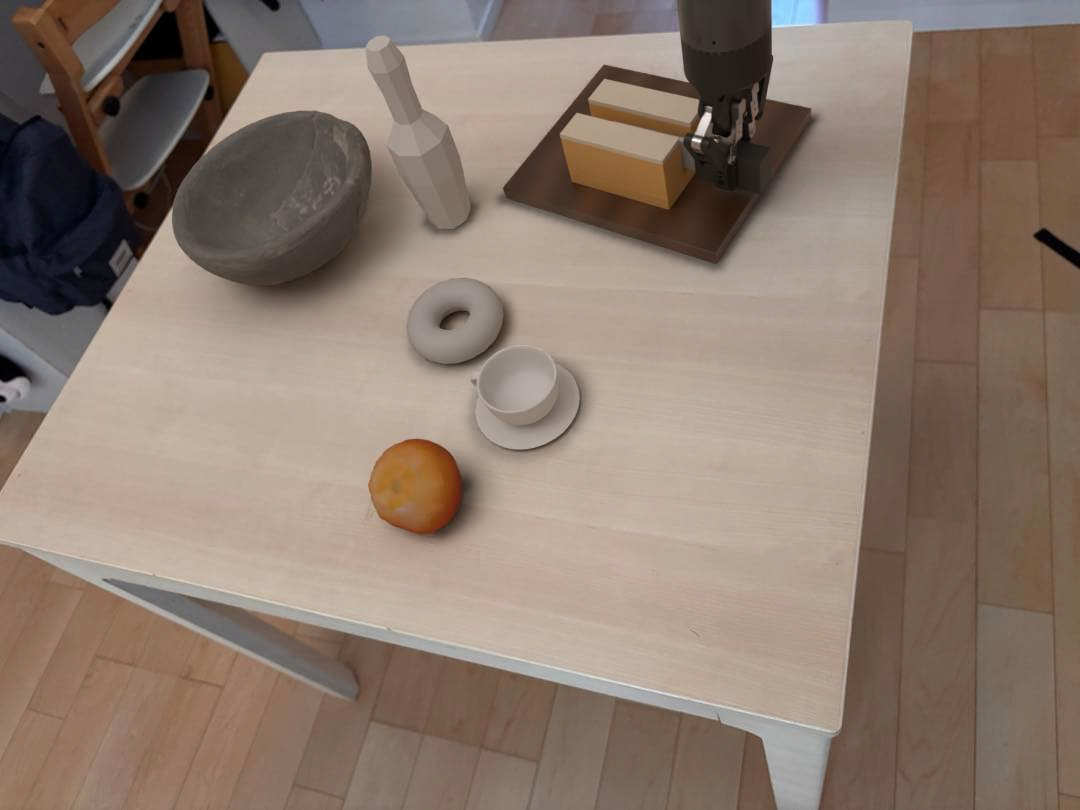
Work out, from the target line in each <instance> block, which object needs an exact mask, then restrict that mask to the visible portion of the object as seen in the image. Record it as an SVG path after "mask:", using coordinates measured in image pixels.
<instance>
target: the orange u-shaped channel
mask: <svg viewBox="0 0 1080 810" xmlns="http://www.w3.org/2000/svg"><path fill="white" fill-rule="evenodd" d="M588 101H589V107H590V111H591V116H588V115H584V114H580V113H576V114H575V116H574V117H573V118H572V119H571V121H570V122H569V123H568V124H567V125H566V127H565V128H564V129H563V130H562V132H561V133H560V137H561V141H562V145H563V149H564V153H565V157H566V161H567V165H568V169H569V173H570V177H571V181H572V182H574V183H578V184H581V185H585V186H588V187H592V188H595V189H598V190H602V191H605V192H609V193H612V194H616V195H619V196H623V197H626V198H629V199H633V200H636V201H640V202H643V203H647V204H650V205H654V206H657V207H660V208H664V209H667V210H670V208H671V207H672V205H673V204H674V202H675V201H676V200H677V198H678V197H679V195H680V194H681V193H682V191H683V190H684V188H685V187H686V185H687V184H688V183H689V181H690V180H691V178H692V177H693V176H694V174H695V173H696V172H695V170H692V169H688V168H684V167H682V158H681V149H680V141H679V138H677V137H673V136H669V135H674V136H678V137H682V138H684V137H685V135H686V134H687V133H692V134H693V133H695V132H696V130H697V128H698V125H699V123H700V120H701V119H700V118H699V116H698V105H699V100H698V99H694V98H689V97H685V96H680V95H676V94H671V93H666V92H662V91H657V90H653V89H648V88H644V87H639V86H635V85H630V84H626V83H621V82H617V81H612V80H608V79H604V80H603V81H602V82H601V84H600V85H599V86H598V87H597V88H596V90H595V91H594V92H593V93H592V95H591V96H590V97H589V98H588ZM613 121H615V122H613ZM616 122H620V123H624V124H628V125H632V126H628V125H624V124H620V123H616ZM633 126H636V127H633ZM637 127H640V128H637ZM641 128H644V129H641ZM645 129H649V130H653V131H657V132H661V133H665V134H669V135H665V134H661V133H657V132H653V131H649V130H645Z"/></svg>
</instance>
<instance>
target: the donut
mask: <svg viewBox="0 0 1080 810" xmlns="http://www.w3.org/2000/svg"><path fill="white" fill-rule="evenodd" d="M461 311H462V312H463V311H464V312H467V313H469V317H468V319H466V321H465V322H464V323H463V324H461V325H460V326H458V327H456V328H452V329H443V328H441V324H442V322H443V320H444V319H445V318H446V317H448V316H449V315H450V314H453V313H455V312H461ZM503 320H504V308H503V305H502V301H501V298H500V297H499V296H498V294H497V293H496V291H495V290H494V289H493V288H492V287H491V286H490V285H488V284H487V283H484V282H482V281H481V280H478V279H475V278H469V277H455V278H449V279H446V280H443V281H440V282H437V283H435V284H434V285H432V286H430V287H429V288H427V289H425V290H424V291H423V292H422V293H421V294H420V296H418V297H417V298H416V300H415V301H414V302H413V304H412V306H411V308H410V309H409V310H408V315H407V320H406V328H405V329H406V333H407V337H408V342H409V343H410V345H411V346H412V348H413V349H414V351H415V352H416V353H418V354H419V355H420V356H422V357H423V358H424V359H426V360H427V361H430V362H434V363H439V364H443V365H447V364H459V363H462V362H463V363H464V362H465V361H469V360H472V359H474V358H476V357H477V356H480V355H481V354H483V352H485V351H487V349H489V347H490V346H491V345H493V343H494V342H495V341H496V339H497V337H498V335H499V334H500V331H501V330H502V326H503Z"/></svg>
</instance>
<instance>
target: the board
mask: <svg viewBox="0 0 1080 810" xmlns="http://www.w3.org/2000/svg"><path fill="white" fill-rule="evenodd" d="M604 79H608V80H612V81H617V82H621V83H626V84H630V85H635V86H639V87H644V88H648V89H653V90H657V91H662V92H666V93H671V94H676V95H680V96H685V97H689V98H694V99H698V100H699V94H698V92H697V91H696V89H695V88H694V87H693V86H692V85H691V84H690V83H689V82H688V81H684V80H680V79H675V78H670V77H665V76H660V75H655V74H651V73H647V72H642V71H636V70H632V69H627V68H622V67H619V66H613V65H610V64H609V65H608V64H603V65H601V67H600V69H599V70H598V71H597V72H596V74H594V76H593V77H592V78H591V79H590V80H589V82H588V83H587V84H586V85H585V87H584V88H583V89H582V90H581V92H580V93H579V94H578V95H577V97H575V99H574V100H573V101H572V103H571V104H569V106H568V107H567V109H566V110H565V111H564V112H563V114H562V115H561V116H560V117H559V118H558V120H557V121H556V122H555V123H554V125H553V126H551V128H550V129H549V131H548V132H547V133H546V135H544V136H543V138H542V139H541V140H540V142H539V143H538V144H537V146H536V147H535V148H534V149H533V150H532V151H531V152H530V154H529V155H528V156H527V157H526V158H525V160H524V161H523V162H522V163H521V165H520V166H519V167H518V169H516V170H515V172H514V173H513V175H511V177H510V178H509V180H508V181H507V182H506V183H505V184H504V186H503V187H502V190H503V191H502V192H503V193H504V196H505V198H506V199H508V200H512V201H515V202H519V203H521V204H525V205H528V206H531V207H534V208H537V209H540V210H544V211H547V212H551V213H553V214H557V215H560V216H562V217H566V218H568V219H573V220H576V221H579V222H581V223H585V224H588V225H592V226H595V227H598V228H601V229H604V230H608V231H611V232H614V233H617V234H620V235H624V236H627V237H629V238H633V239H636V240H639V241H643V242H646V243H648V244H652V245H656V246H659V247H661V248H665V249H667V250H671V251H674V252H677V253H681V254H684V255H687V256H690V257H693V258H697V259H699V260H703V261H706V262H709V263H713V264H717V263H718V261H719V260H720V258H721V257H722V255H723V254H724V252H725V250H727V247H729V245H730V243H731V241H732V239H733V238H734V237H735V235H736V234H737V232H738V231H739V229H740V227H741V226H742V225H743V223H744V222H745V220H746V218H747V217H748V216H749V214H750V213H751V211H752V209H753V208H754V207H755V205H756V203H757V202H758V201H759V199H760V197H761V196H762V194H763V193H764V191H765V190H766V188H768V187H767V186H768V185H769V184H770V182H772V181H771V180H772V179H773V178H774V176H775V174H776V173H777V172H778V170H779V168H780V167H781V165H782V164H783V162H784V161H785V159H786V158H787V156H788V155H789V154H790V152H791V150H792V149H793V147H794V146H795V144H796V143H797V141H798V140H799V138H800V137H801V135H802V133H803V132H804V130H805V129H806V127H807V126H808V125H809V123H810V121H811V120H812V119H811V118H812V108H811V107H807V106H802V105H797V104H792V103H787V102H783V101H780V100H779V101H778V100H773V99H770V98H766V101H765V107H764V112H763V116H762V118H761V120H755V133H754V135H753V137H752V138H751V143H755V144H759V145H763V146H767V147H770V148H771V179H770V181H769V182H768V184H767V185H766V187H765V188H764V190H763V191H762V193H761V194H760V195H759V194H756V193H752V192H748V191H744V190H740V189H735V190H734V191H729V190H725V189H721V188H718V187H716V186H715V183H714V182H710V181H706V180H702V179H698V178H696V173H695V174H694V176H693V177H692V178H691V180H690V181H689V183H688V184H687V185H686V187H685V188H684V190H683V191H682V193H681V194H680V195H679V197H678V198H677V200H676V201H675V202H674V204H673V205H672V207H671V208H670V210H667V209H664V208H660V207H657V206H654V205H650V204H647V203H643V202H640V201H636V200H633V199H629V198H626V197H623V196H619V195H616V194H612V193H609V192H605V191H602V190H598V189H595V188H592V187H588V186H585V185H581V184H578V183H574V182H572V181H571V177H570V173H569V169H568V165H567V161H566V157H565V153H564V149H563V145H562V141H561V137H560V133H561V132H562V130H563V129H564V128H565V127H566V125H567V124H568V123H569V122H570V121H571V119H572V118H573V117H574V116H575V114H576V113H580V114H584V115H588V116H591V111H590V107H589V101H588V98H589V97H590V96H591V95H592V93H593V92H594V91H595V90H596V88H597V87H598V86H599V85H600V84H601V82H602V81H603V80H604Z"/></svg>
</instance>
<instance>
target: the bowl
mask: <svg viewBox="0 0 1080 810" xmlns="http://www.w3.org/2000/svg"><path fill="white" fill-rule="evenodd" d="M365 137H366V136H364V134H363V132H362V131H361V130H360V129H359V128H358V127H357V126H356V125H355V124H353V123H352V122H349V121H347V120H343V119H341V118H338V117H336V116H335V115H333V114H331V113H328V112H323V111H318V110H295V111H294V110H293V111H286V112H281V113H279V114H278V113H277V114H273V115H270V116H266V117H263V118H261V119H258V120H256V121H254V122H251V123H249V124H247V125H245V126H243V127H241V128H239V129H237V130H236V131H233V132H232V133H231V134H229V135H228V136H225V137H224V138H223V139H222V140H221V141H219V142H218V143H216V144H215V145H213V146H212V147H211V148H210V149H209V150H208V151H207V152H206V153H205V154H204V155H202V156H201V157H200V158H199V160H197V162H196V163H194V165H193V166H192V167H191V169H190V170H189V172H188V173H187V174H186V175H185V176H184V177H183V179H182V181H181V183H180V185H179V187H178V189H177V191H176V193H175V196H174V199H173V203H172V209H171V210H172V211H171V212H172V213H171V225H172V231H173V235H174V238H175V240H176V243H177V245H178V246H179V249H181V251H183V253H184V254H185V255H186V256H187V257H188V258H189V259H190V260H191V261H192V262H193V263H195V265H197V266H198V267H200V268H201V269H202V270H205V271H206V272H208V273H210V274H211V275H214V276H216V277H218V278H221V279H224V280H225V281H229V282H232V283H233V282H234V283H238V284H243V285H250V286H276V285H280V284H283V283H287V282H290V281H293V280H296V279H299V278H302V277H305V276H306V275H309V274H310V273H313V272H315V271H316V270H318V269H320V268H321V267H323V266H324V265H325V264H327V263H328V262H329V261H331V260H332V259H333V258H335V257H336V256H337V255H338V254H339V253H340V252H341V251H342V250H343V249H344V248H345V246H347V245H348V243H349V242H350V241H351V239H352V238H353V237H354V235H355V233H356V232H357V230H358V229H359V227H360V225H361V223H362V219H363V218H364V214H365V211H366V209H367V204H368V201H369V195H370V191H371V187H372V175H373V173H372V171H373V169H372V168H373V167H372V165H373V164H372V163H373V162H372V156H371V150H370V147H369V144H368V141H367V139H366V138H365Z"/></svg>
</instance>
